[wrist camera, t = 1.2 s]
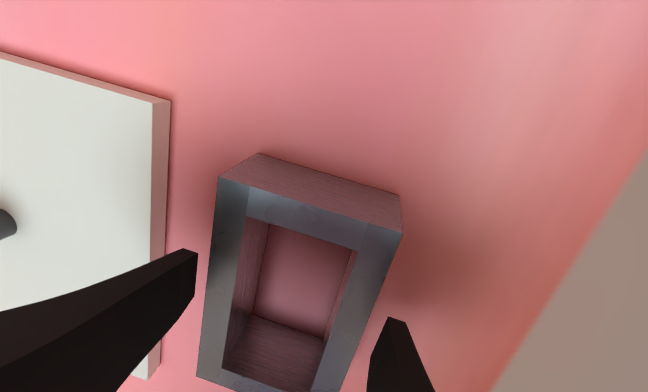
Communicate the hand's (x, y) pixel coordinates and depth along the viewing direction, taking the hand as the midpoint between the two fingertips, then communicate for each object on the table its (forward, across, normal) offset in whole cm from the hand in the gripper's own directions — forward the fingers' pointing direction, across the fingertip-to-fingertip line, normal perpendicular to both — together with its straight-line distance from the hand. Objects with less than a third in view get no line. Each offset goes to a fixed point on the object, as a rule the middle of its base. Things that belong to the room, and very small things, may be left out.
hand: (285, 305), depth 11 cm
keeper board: (+2, +14, +2) cm, 14 cm away
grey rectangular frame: (+2, 0, 0) cm, 2 cm away
